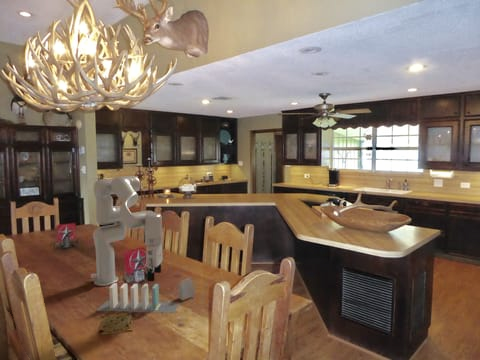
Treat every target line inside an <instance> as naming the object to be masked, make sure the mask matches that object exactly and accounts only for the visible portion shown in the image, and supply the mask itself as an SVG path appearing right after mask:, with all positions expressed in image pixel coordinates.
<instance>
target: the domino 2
mask: <svg viewBox="0 0 480 360" xmlns="http://www.w3.org/2000/svg"><path fill="white" fill-rule="evenodd" d="M128 287H129V286H128V283H125V282H124V283H123V284H122V285H121V286H120V287H119V301H120V307H121V309H124V308H125V307H126V306H127V305H128V301H129V288H128Z"/></svg>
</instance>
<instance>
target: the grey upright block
mask: <svg viewBox="0 0 480 360" xmlns="http://www.w3.org/2000/svg"><path fill="white" fill-rule="evenodd" d="M177 288H178V290H177V291H178V299H180V300H181V301H185V300H188V299H190V298H191V300H193V299H195V286H194V282H193V278H192V277H189V278H187V279H186V278H185V279H183V280H180V281H179V285H178V287H177Z"/></svg>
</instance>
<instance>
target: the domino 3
mask: <svg viewBox="0 0 480 360" xmlns="http://www.w3.org/2000/svg"><path fill="white" fill-rule="evenodd" d="M138 285H139V283H133V285H132V286H130V291H129V292H130V301H131V309H135V308H136V307H137V305H138V302H139V286H138Z"/></svg>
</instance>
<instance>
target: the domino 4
mask: <svg viewBox="0 0 480 360" xmlns="http://www.w3.org/2000/svg"><path fill="white" fill-rule="evenodd" d="M149 295H150V294H149V284H148V283H144V284H143V285H142V287H141V288H140V296H141V297H140V298H141V301H140V302H142V309H146V307H147V306H148V305H149V302H150V301H149V298H150V297H149Z"/></svg>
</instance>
